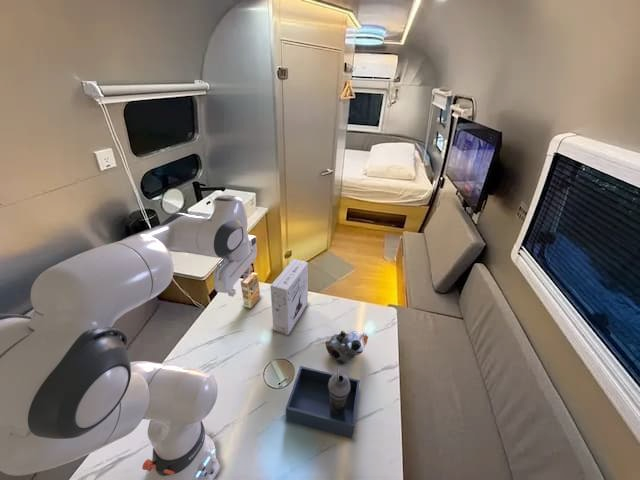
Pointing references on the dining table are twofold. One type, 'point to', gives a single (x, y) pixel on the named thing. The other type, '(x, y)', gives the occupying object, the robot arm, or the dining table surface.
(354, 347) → the lucky cat figurine
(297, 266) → the cereal box
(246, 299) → the candy box
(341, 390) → the beverage cup
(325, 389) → the blue open storage box
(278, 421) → the dining table surface
